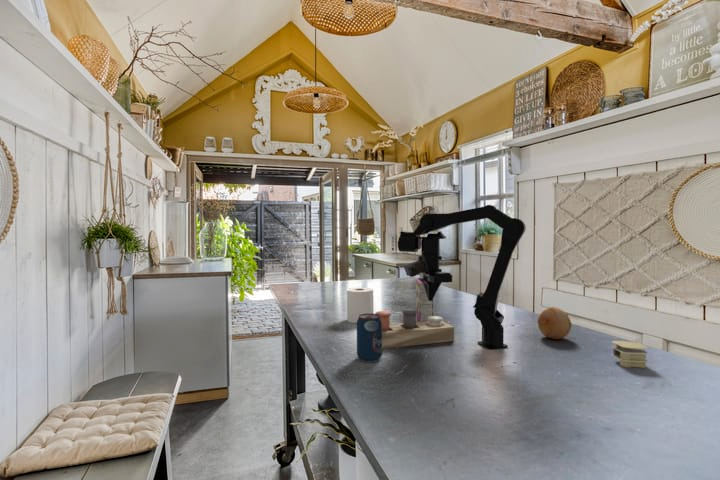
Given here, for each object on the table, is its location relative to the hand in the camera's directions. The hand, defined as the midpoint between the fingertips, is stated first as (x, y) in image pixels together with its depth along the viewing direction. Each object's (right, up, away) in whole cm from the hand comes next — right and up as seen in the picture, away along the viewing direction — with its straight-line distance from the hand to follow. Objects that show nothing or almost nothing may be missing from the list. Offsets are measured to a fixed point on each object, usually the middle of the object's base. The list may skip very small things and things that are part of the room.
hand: (430, 300), depth 126 cm
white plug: (+2, -12, +1) cm, 12 cm away
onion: (+39, -12, -1) cm, 41 cm away
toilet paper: (-23, -12, +25) cm, 36 cm away
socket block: (-7, -12, -2) cm, 14 cm away
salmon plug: (-16, -9, -4) cm, 18 cm away
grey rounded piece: (-7, -9, -2) cm, 11 cm away
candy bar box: (+1, -12, +16) cm, 20 cm away
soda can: (-20, -13, -18) cm, 30 cm away
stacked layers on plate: (+48, -13, -24) cm, 55 cm away
